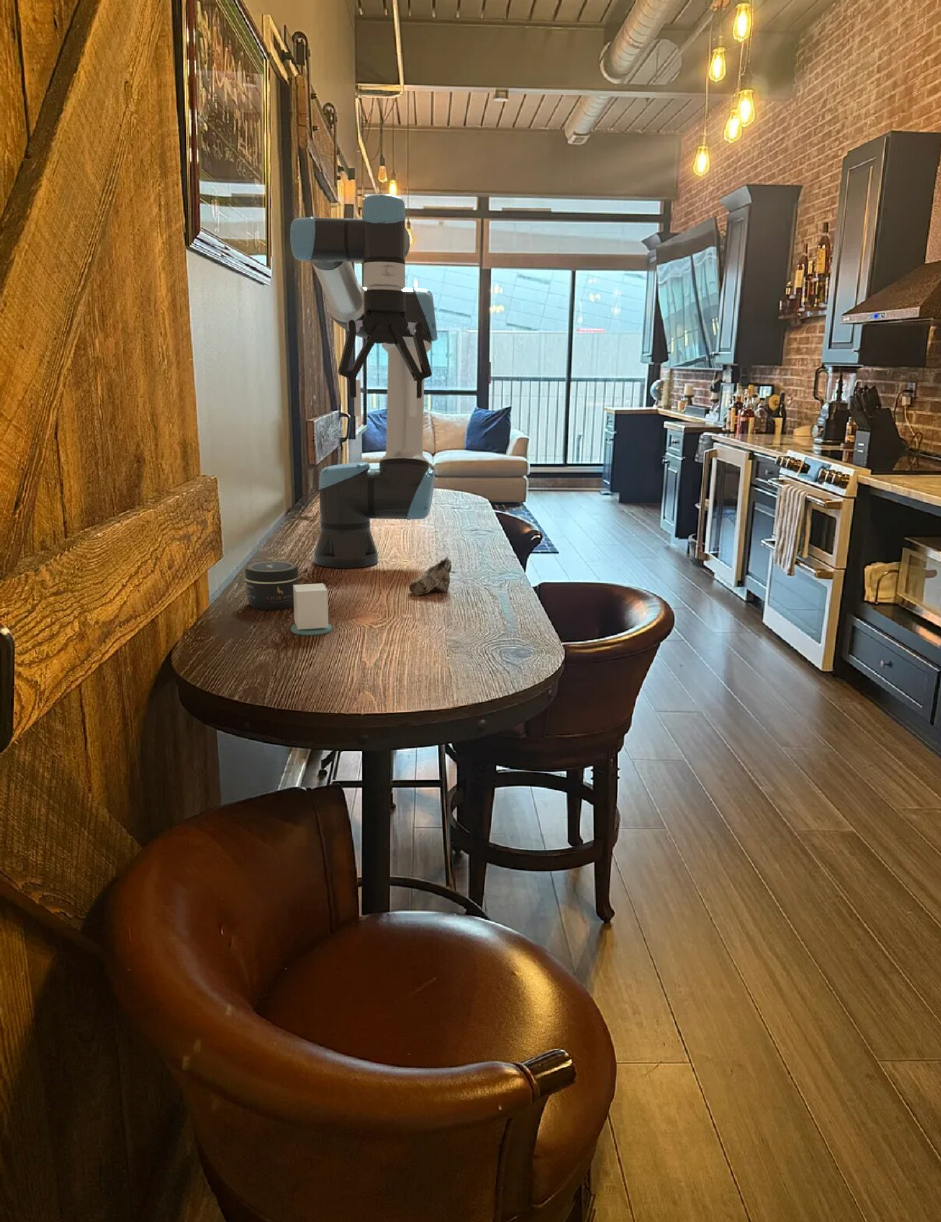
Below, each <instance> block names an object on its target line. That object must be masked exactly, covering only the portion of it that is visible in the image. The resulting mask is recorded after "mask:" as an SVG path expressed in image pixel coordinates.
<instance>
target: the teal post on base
mask: <svg viewBox="0 0 941 1222" xmlns="http://www.w3.org/2000/svg"><path fill="white" fill-rule="evenodd" d="M332 630H333V626H332V624H330V623H329V622H328V628H313V629H297V626H296V624H295V623H294V624H292V625H291V626H290V631H291V632H292V634H294V635H299V636H320V635H326V634H327V633H330V632H332Z"/></svg>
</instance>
